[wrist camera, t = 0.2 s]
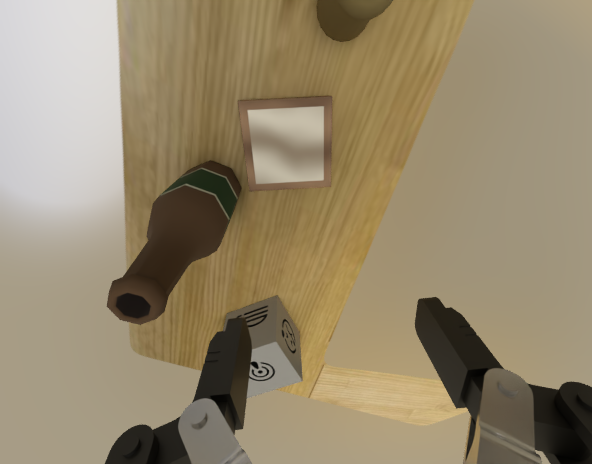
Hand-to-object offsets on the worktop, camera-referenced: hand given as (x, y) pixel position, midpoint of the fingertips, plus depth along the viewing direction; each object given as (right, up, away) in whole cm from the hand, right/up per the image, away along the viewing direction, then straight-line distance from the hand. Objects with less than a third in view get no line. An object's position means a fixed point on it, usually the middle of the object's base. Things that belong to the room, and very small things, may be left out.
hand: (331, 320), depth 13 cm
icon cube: (-8, -13, +39) cm, 41 cm away
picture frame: (-3, +16, +24) cm, 29 cm away
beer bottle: (-13, +11, +26) cm, 31 cm away
